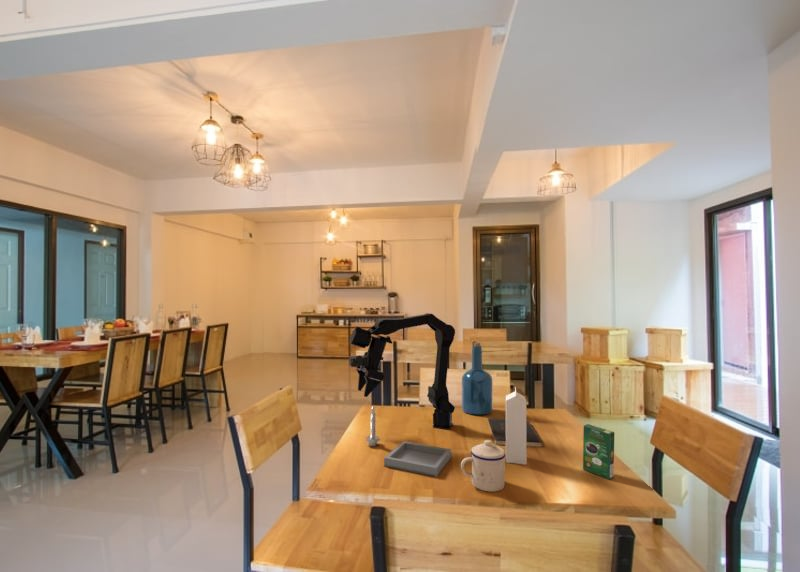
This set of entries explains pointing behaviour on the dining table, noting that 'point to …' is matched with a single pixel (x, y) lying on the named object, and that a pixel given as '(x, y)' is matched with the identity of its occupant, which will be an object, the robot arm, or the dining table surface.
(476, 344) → the wine bottle
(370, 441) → the screw
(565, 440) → the dining table surface
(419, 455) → the tray
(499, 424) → the hardcover book
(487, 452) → the teacup with lid
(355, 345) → the robot arm
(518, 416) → the milk
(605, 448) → the coffee box
